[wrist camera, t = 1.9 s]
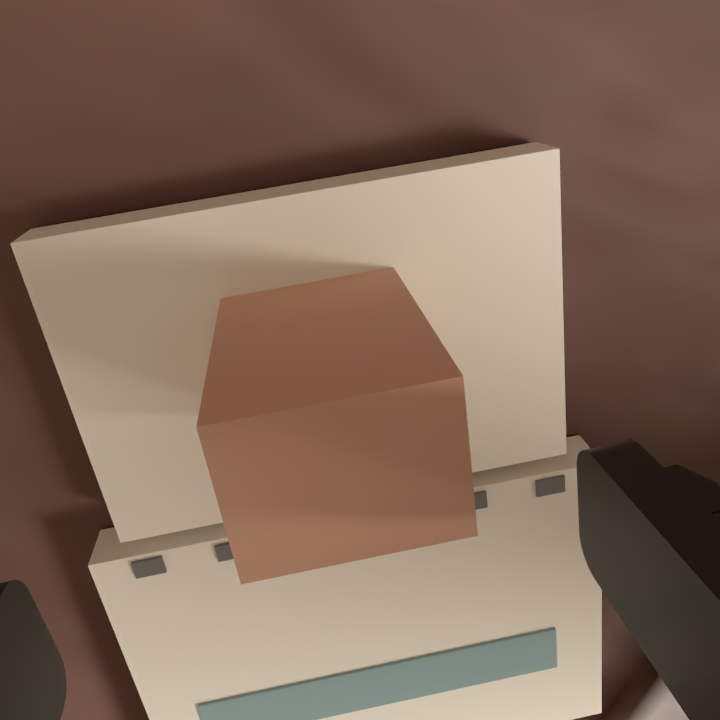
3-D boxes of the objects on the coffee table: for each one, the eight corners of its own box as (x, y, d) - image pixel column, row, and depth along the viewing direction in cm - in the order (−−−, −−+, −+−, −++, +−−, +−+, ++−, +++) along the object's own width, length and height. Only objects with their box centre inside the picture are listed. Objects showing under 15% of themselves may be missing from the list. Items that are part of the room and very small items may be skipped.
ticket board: (578, 434, 20) (603, 464, 18) (582, 676, 24) (603, 715, 23) (100, 529, 19) (86, 568, 18) (188, 762, 23) (183, 809, 22)
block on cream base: (536, 142, 16) (728, 196, 10) (547, 428, 20) (694, 619, 13) (30, 228, 16) (-148, 353, 9) (130, 510, 19) (55, 758, 12)
